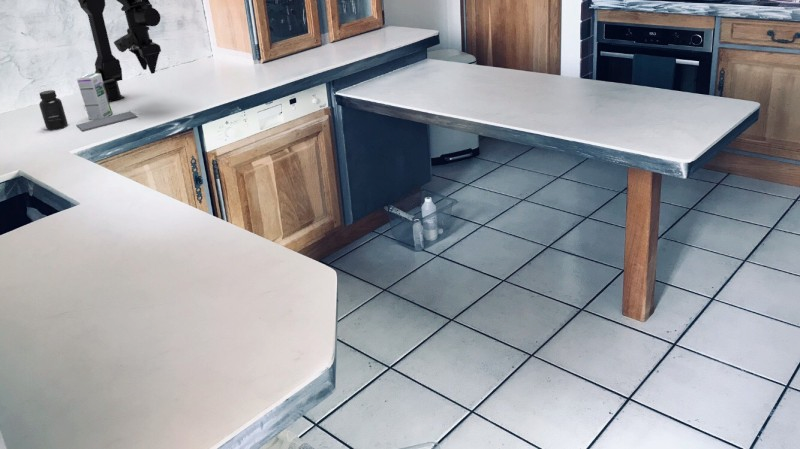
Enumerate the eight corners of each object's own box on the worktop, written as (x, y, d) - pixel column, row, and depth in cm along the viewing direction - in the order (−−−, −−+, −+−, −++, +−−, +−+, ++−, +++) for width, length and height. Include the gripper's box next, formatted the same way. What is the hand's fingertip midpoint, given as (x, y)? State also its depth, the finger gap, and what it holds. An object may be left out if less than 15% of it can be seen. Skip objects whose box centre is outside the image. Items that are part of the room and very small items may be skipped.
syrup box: (103, 119, 247) (91, 77, 241) (88, 119, 248) (76, 78, 242) (112, 114, 252) (101, 72, 246) (97, 114, 253) (85, 73, 247)
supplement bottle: (54, 131, 240) (43, 96, 235) (42, 129, 243) (31, 94, 238) (72, 124, 245) (62, 89, 240) (60, 122, 248) (49, 88, 243)
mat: (76, 126, 243) (76, 124, 243) (130, 112, 252) (129, 111, 251) (82, 131, 237) (82, 130, 237) (137, 117, 246) (137, 115, 245)
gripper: (104, 26, 243) (117, 72, 250) (121, 32, 229) (133, 81, 236) (137, 19, 248) (148, 65, 255) (155, 25, 234) (167, 73, 241)
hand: (148, 71), depth 247 cm, fingers open, 8 cm apart
